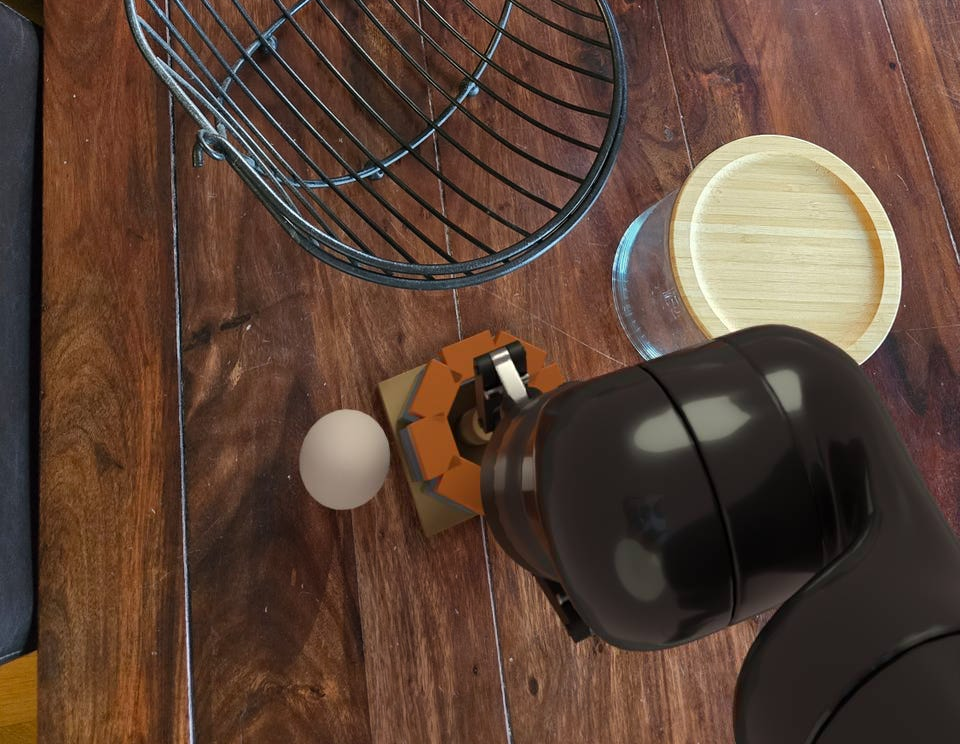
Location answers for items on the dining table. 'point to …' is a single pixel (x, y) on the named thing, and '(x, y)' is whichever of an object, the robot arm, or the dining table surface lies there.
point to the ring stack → (396, 402)
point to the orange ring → (435, 404)
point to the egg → (344, 459)
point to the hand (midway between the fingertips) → (511, 485)
